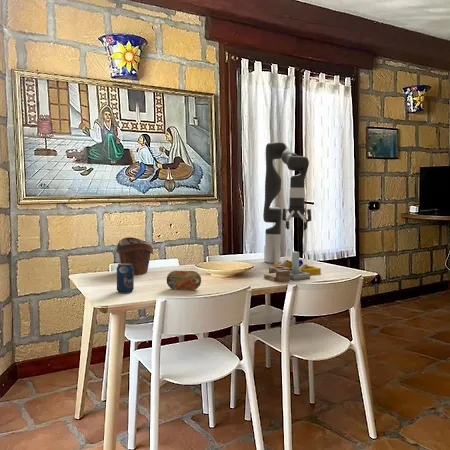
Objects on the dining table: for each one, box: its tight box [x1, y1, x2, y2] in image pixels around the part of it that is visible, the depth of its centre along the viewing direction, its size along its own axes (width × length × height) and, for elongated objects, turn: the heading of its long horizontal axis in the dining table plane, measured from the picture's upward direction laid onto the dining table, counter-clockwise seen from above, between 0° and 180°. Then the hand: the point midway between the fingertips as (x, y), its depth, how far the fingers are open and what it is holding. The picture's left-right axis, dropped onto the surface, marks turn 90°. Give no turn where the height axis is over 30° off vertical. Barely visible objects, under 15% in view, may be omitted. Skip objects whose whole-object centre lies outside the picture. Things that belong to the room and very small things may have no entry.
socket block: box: [268, 266, 291, 274], centre depth 239 cm, size 8×8×3 cm
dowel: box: [291, 251, 300, 275], centre depth 228 cm, size 4×4×12 cm
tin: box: [166, 270, 202, 291], centre depth 198 cm, size 15×3×8 cm, turn 81°
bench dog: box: [275, 270, 291, 283], centre depth 219 cm, size 3×6×5 cm, turn 121°
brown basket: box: [116, 236, 154, 276], centre depth 236 cm, size 18×20×18 cm
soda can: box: [116, 262, 135, 294], centre depth 191 cm, size 7×7×12 cm
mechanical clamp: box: [272, 259, 322, 275], centre depth 247 cm, size 18×6×30 cm
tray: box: [290, 271, 311, 281], centre depth 228 cm, size 10×10×2 cm
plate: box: [263, 273, 277, 282], centre depth 224 cm, size 8×8×2 cm
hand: (296, 229), depth 226 cm, fingers open, 8 cm apart
